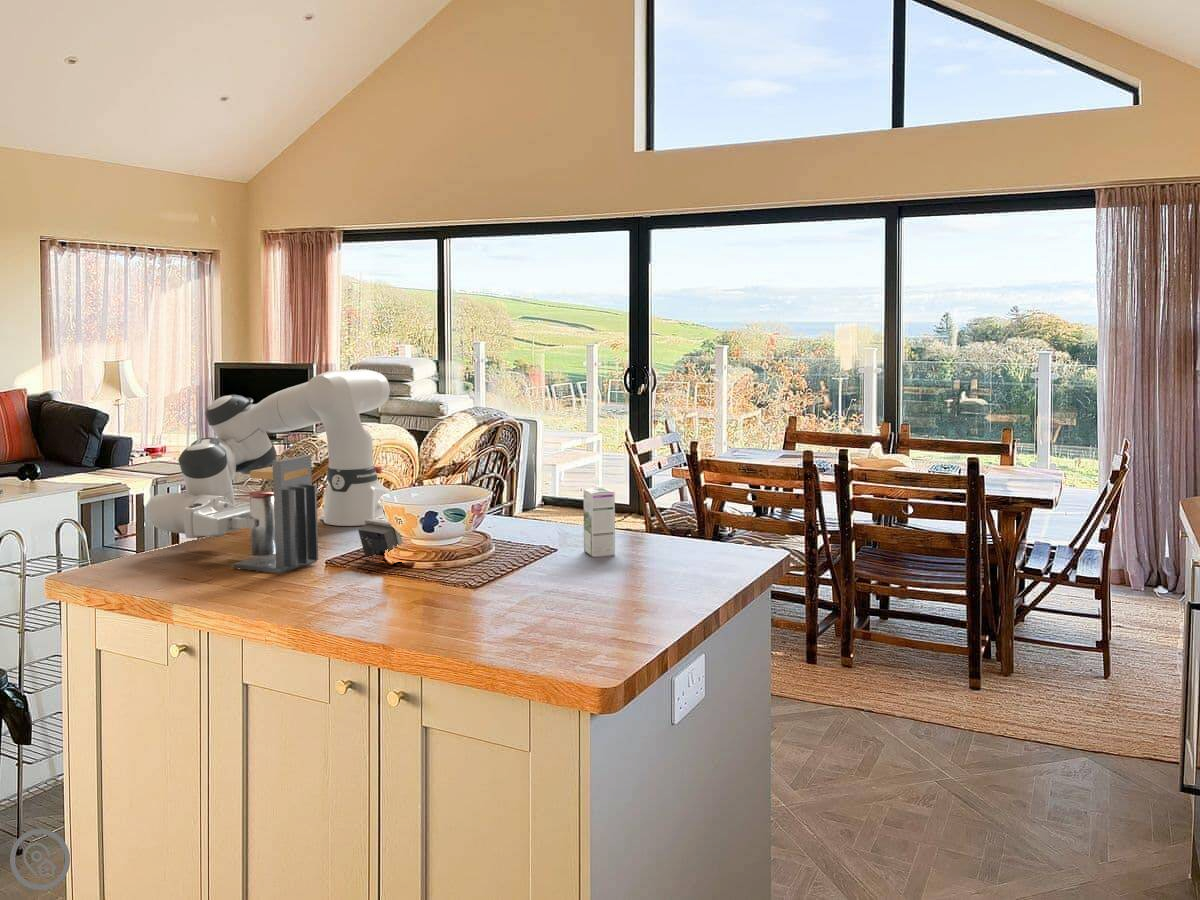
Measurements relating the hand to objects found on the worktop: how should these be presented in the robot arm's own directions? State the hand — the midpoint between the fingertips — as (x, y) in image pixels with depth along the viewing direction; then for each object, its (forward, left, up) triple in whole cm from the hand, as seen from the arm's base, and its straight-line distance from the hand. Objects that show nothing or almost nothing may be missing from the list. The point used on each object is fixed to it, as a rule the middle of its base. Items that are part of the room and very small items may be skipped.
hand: (266, 520), depth 213 cm
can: (0, -1, -7) cm, 7 cm away
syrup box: (-35, +62, -10) cm, 72 cm away
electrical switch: (-10, +22, -10) cm, 26 cm away
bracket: (0, +2, -9) cm, 10 cm away
